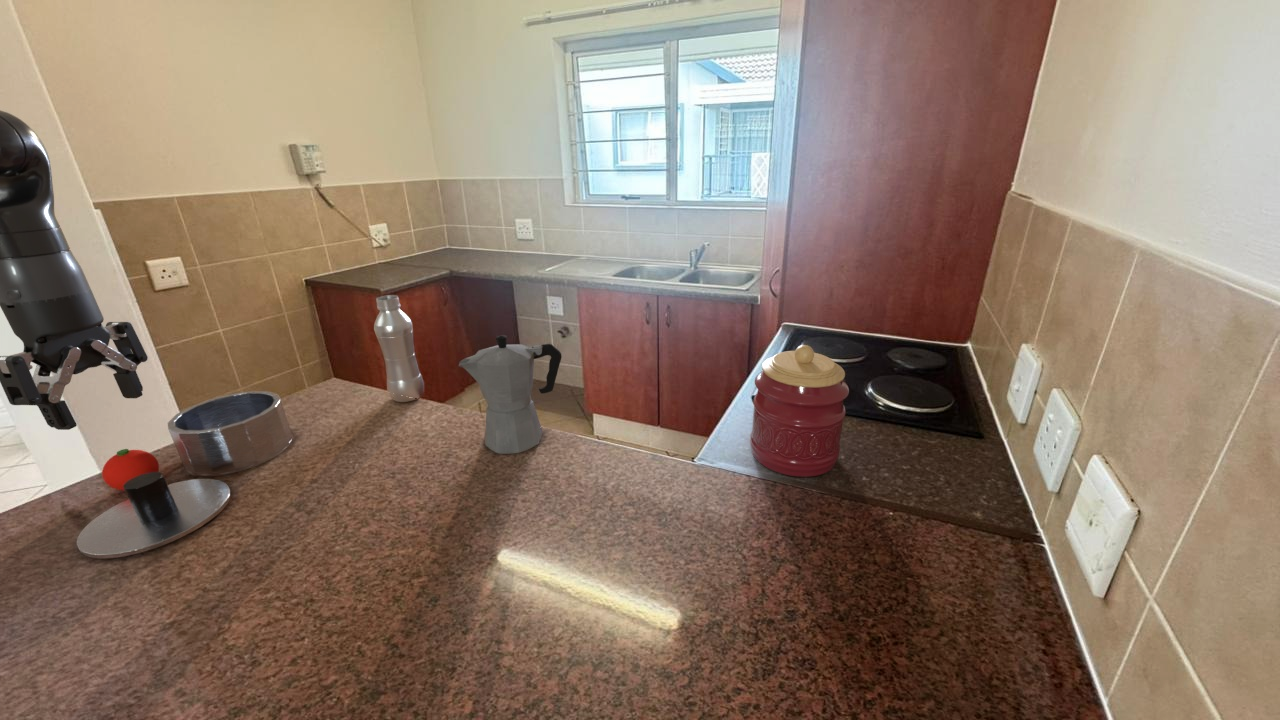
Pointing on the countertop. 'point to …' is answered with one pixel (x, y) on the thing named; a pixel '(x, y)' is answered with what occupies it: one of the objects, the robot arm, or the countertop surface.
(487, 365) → the coffeepot
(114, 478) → the tomato
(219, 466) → the saucepan
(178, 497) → the pan lid
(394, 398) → the plastic bottle
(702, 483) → the countertop surface
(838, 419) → the kitchen canister
